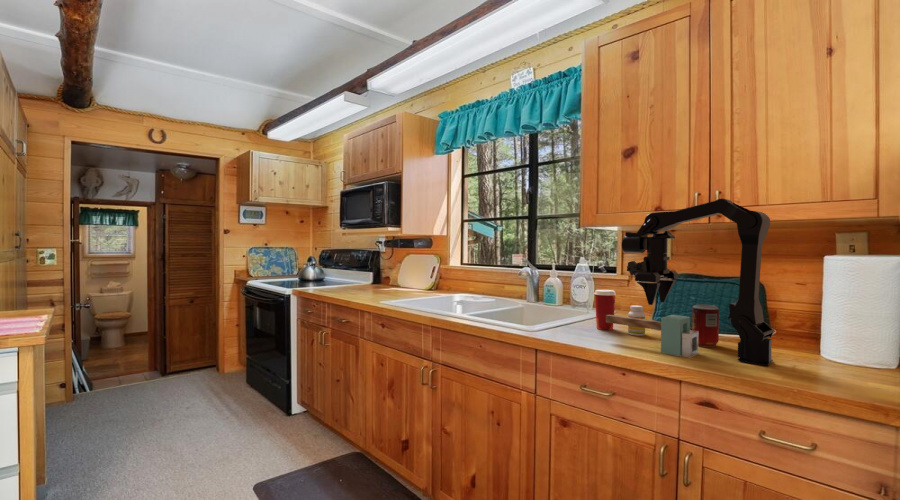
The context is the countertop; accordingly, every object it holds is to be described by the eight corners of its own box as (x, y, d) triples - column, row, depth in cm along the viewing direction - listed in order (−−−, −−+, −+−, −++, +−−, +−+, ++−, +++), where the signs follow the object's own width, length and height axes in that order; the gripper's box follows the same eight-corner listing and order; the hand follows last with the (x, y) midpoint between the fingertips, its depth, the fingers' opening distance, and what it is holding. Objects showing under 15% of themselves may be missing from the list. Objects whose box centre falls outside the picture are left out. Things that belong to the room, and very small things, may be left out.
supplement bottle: (646, 336, 142) (647, 307, 142) (629, 335, 143) (630, 307, 143) (642, 333, 148) (643, 305, 147) (626, 332, 149) (626, 304, 148)
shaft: (670, 330, 123) (670, 322, 123) (667, 331, 122) (667, 323, 122) (609, 321, 137) (609, 314, 137) (605, 322, 136) (605, 315, 135)
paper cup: (620, 329, 153) (621, 291, 152) (603, 331, 150) (604, 292, 150) (605, 326, 160) (605, 289, 160) (589, 327, 157) (589, 289, 157)
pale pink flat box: (698, 353, 120) (698, 331, 120) (690, 357, 116) (690, 334, 116) (689, 352, 122) (690, 330, 122) (681, 356, 117) (681, 333, 117)
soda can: (724, 347, 127) (724, 306, 127) (704, 348, 126) (704, 307, 126) (705, 342, 134) (706, 303, 134) (686, 343, 133) (686, 304, 133)
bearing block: (689, 351, 122) (690, 316, 122) (679, 356, 117) (680, 320, 117) (671, 348, 126) (671, 314, 126) (660, 352, 120) (661, 317, 120)
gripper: (643, 252, 144) (642, 298, 144) (618, 253, 131) (617, 303, 131) (678, 253, 136) (678, 301, 136) (655, 254, 123) (654, 307, 123)
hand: (656, 303), depth 132 cm, fingers open, 9 cm apart
